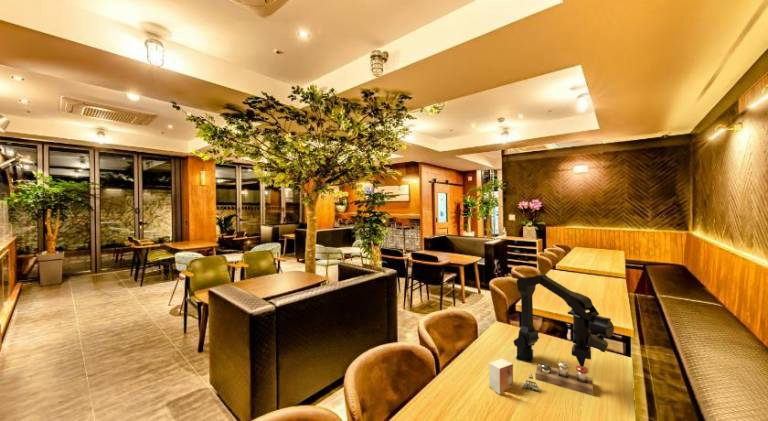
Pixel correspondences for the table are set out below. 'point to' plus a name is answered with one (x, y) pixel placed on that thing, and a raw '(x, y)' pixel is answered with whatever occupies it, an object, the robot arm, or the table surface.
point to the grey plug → (546, 367)
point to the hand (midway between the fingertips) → (581, 366)
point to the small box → (500, 375)
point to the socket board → (565, 380)
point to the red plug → (582, 374)
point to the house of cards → (530, 384)
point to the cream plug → (563, 369)
